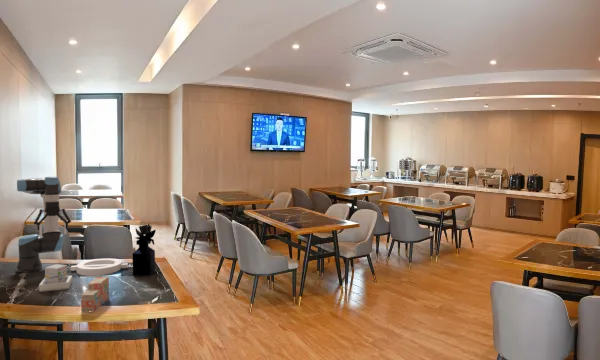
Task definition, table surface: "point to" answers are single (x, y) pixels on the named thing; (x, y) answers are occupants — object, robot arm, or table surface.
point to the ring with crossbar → (99, 266)
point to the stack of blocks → (95, 294)
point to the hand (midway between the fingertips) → (53, 234)
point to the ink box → (56, 274)
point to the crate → (55, 285)
